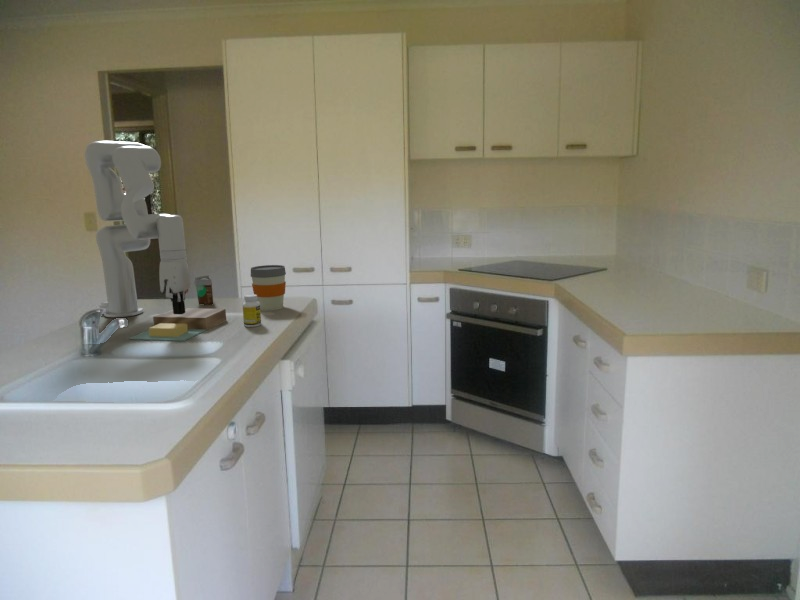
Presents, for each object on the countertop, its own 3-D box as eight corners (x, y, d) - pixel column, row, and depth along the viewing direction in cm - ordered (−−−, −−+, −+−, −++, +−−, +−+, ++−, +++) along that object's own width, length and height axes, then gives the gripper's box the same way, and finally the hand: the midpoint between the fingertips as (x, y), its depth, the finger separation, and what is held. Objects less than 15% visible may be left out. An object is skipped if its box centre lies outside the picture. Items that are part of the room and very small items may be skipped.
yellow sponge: (160, 323, 174) (160, 331, 175) (148, 328, 168) (149, 336, 169) (187, 323, 173) (187, 331, 173) (176, 328, 167) (177, 336, 168)
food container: (194, 301, 223) (192, 276, 221) (210, 299, 225) (208, 275, 223) (196, 307, 211) (194, 280, 209) (213, 305, 214) (211, 279, 212)
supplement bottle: (259, 327, 178) (257, 296, 177) (242, 327, 178) (239, 297, 176) (262, 323, 184) (260, 293, 182) (246, 323, 184) (243, 294, 182)
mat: (129, 339, 167) (128, 338, 167) (153, 329, 179) (153, 328, 179) (184, 341, 164) (184, 339, 164) (205, 330, 176) (205, 329, 175)
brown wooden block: (154, 329, 179) (153, 316, 178) (177, 319, 192) (176, 308, 191) (206, 330, 176) (205, 317, 175) (226, 320, 188) (225, 308, 188)
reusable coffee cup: (295, 305, 210) (292, 265, 207) (272, 312, 199) (269, 270, 196) (268, 303, 215) (265, 264, 212) (245, 309, 204) (242, 269, 201)
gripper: (176, 252, 181) (181, 308, 185) (147, 258, 167) (154, 319, 171) (197, 252, 180) (202, 308, 184) (170, 258, 166) (177, 319, 169)
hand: (179, 313), depth 177 cm, fingers closed
